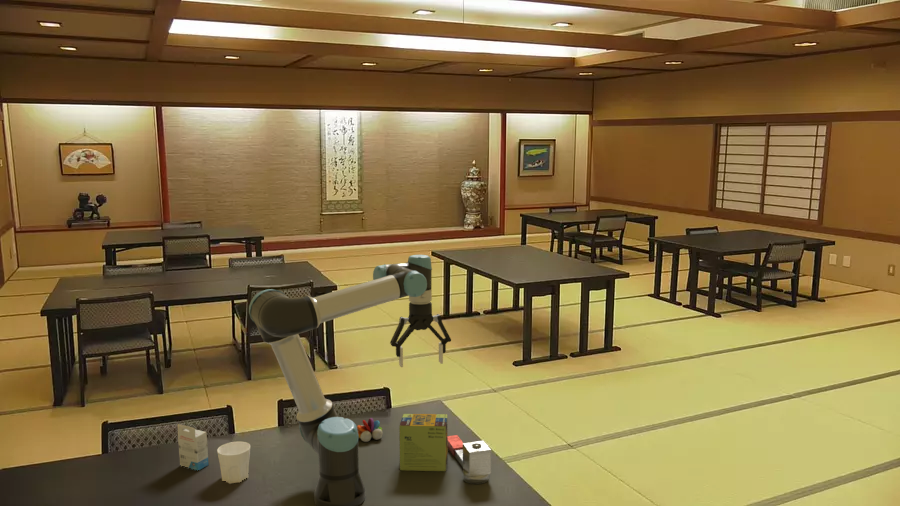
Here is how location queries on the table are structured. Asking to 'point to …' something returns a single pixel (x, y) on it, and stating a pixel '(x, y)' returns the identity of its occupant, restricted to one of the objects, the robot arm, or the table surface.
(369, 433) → the rainbow finned toy
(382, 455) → the table surface
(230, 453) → the cup
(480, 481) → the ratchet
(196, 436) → the ink box
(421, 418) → the protein box
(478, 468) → the metal cube with knob
